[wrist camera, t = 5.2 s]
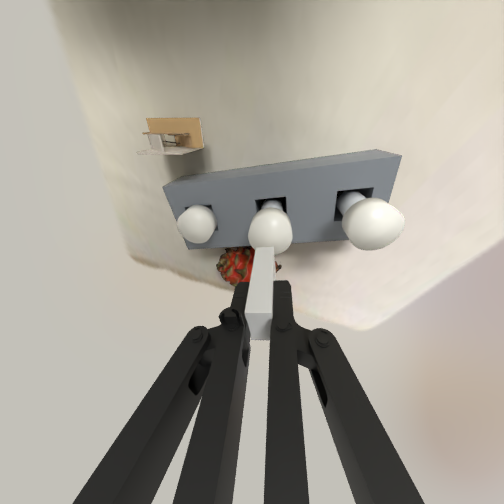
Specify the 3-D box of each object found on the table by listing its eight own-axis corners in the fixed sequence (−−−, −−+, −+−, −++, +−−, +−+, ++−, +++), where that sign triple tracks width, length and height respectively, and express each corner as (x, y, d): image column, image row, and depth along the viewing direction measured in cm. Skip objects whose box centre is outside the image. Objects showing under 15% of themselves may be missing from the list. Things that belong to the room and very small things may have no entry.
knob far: (195, 193, 29) (171, 213, 22) (222, 190, 28) (205, 210, 22) (203, 220, 32) (184, 244, 25) (228, 217, 31) (215, 242, 24)
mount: (181, 176, 28) (162, 187, 24) (376, 149, 24) (402, 155, 19) (201, 231, 34) (188, 249, 29) (361, 219, 29) (378, 238, 24)
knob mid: (253, 194, 24) (244, 219, 18) (288, 190, 23) (291, 215, 17) (257, 224, 27) (251, 256, 20) (289, 222, 26) (292, 254, 20)
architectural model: (160, 119, 25) (123, 117, 19) (209, 118, 24) (186, 116, 18) (167, 147, 27) (135, 154, 21) (212, 147, 26) (192, 154, 20)
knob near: (331, 185, 22) (353, 209, 16) (372, 180, 22) (412, 204, 15) (328, 219, 25) (346, 251, 19) (364, 216, 24) (395, 249, 18)
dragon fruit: (219, 244, 37) (276, 244, 38) (218, 285, 37) (276, 285, 38) (211, 241, 29) (285, 242, 29) (211, 294, 29) (285, 294, 29)
